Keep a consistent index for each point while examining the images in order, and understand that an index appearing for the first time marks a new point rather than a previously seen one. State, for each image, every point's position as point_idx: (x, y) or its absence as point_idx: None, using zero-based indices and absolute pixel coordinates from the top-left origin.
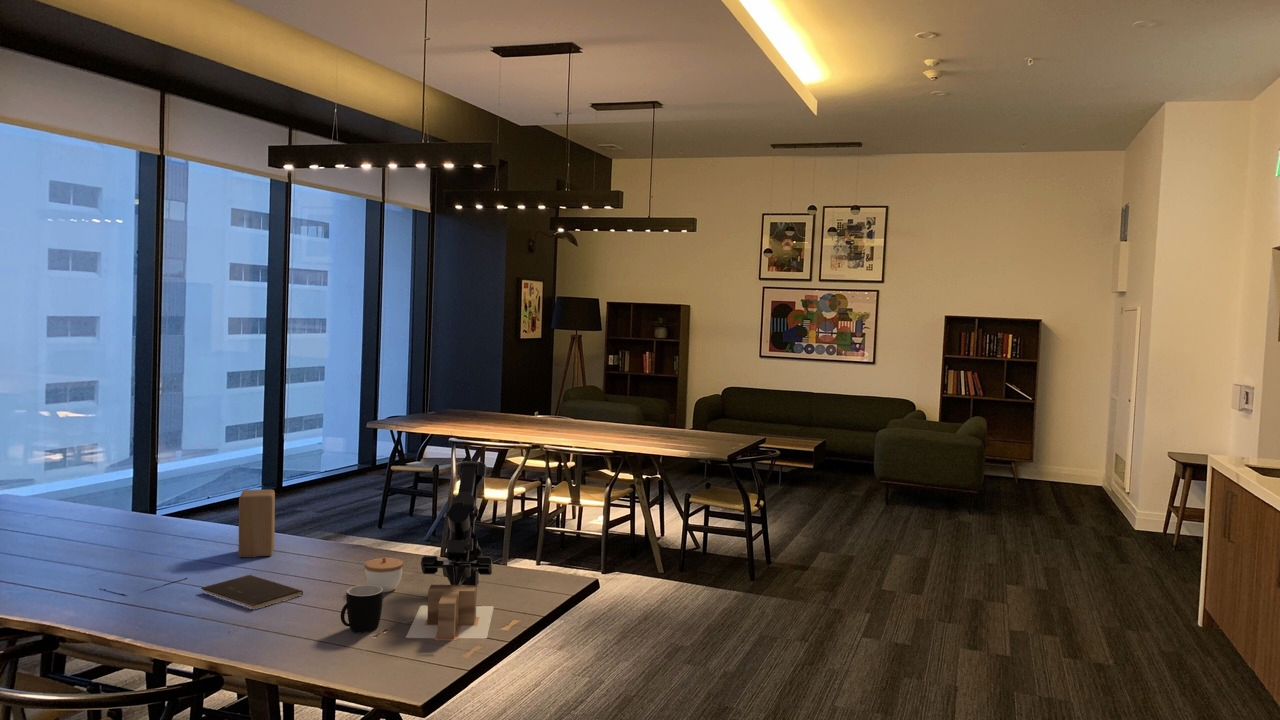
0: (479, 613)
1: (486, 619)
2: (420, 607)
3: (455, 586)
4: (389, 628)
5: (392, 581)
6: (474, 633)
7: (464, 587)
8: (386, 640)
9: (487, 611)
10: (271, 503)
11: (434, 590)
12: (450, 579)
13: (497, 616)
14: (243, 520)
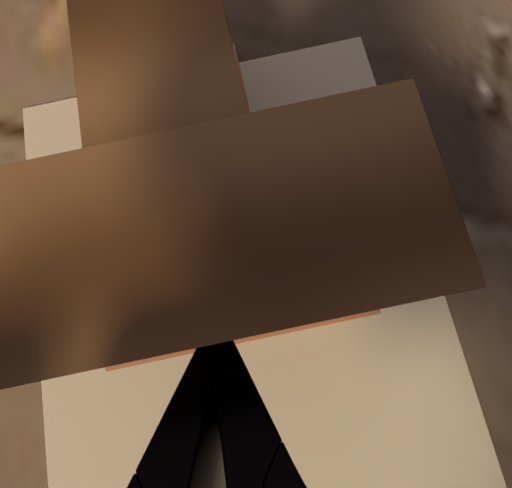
0: (117, 432)
1: None
2: (493, 460)
3: (163, 289)
4: (490, 132)
5: None
6: None
7: (49, 276)
8: (428, 11)
9: (79, 480)
10: None
11: (348, 97)
12: (277, 461)
13: (19, 423)
14: None
